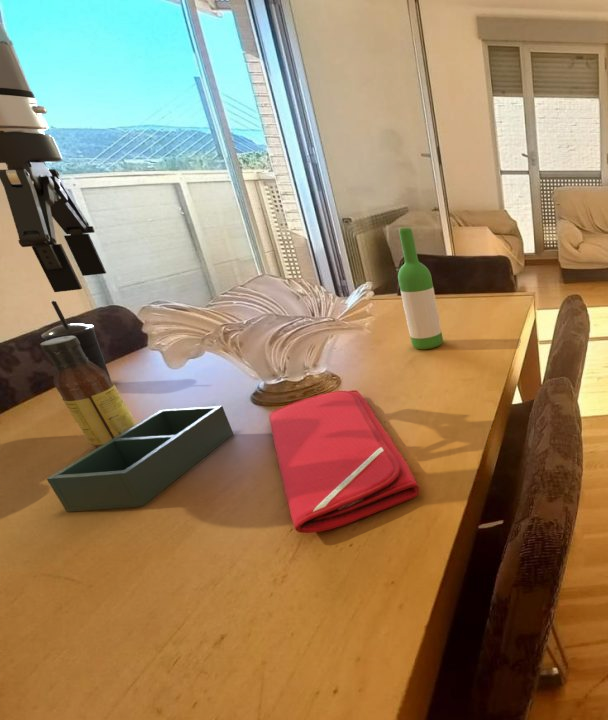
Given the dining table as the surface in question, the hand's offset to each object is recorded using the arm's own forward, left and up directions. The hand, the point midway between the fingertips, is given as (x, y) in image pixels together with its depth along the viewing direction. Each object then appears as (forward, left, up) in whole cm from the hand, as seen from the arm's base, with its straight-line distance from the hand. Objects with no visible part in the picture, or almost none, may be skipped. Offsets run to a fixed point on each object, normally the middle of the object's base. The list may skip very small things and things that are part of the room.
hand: (82, 282), depth 74 cm
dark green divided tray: (+9, -10, -28) cm, 32 cm away
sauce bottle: (-5, -1, -29) cm, 29 cm away
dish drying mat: (+36, -10, -29) cm, 47 cm away
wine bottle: (+37, +41, -29) cm, 62 cm away
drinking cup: (-31, +25, -29) cm, 49 cm away
